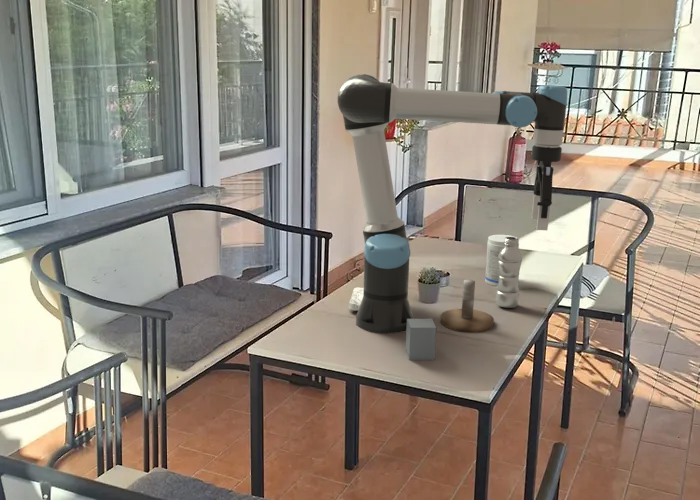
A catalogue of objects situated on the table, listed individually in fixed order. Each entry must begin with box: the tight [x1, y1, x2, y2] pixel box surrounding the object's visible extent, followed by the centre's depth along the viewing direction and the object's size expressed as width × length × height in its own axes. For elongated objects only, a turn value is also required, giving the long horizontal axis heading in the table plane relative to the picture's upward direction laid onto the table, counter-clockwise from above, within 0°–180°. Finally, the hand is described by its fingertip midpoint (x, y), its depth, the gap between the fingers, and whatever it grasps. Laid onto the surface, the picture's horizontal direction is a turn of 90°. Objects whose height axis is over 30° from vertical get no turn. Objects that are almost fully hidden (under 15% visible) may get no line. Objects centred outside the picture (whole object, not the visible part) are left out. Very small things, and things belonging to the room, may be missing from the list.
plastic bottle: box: [495, 236, 523, 309], centre depth 221 cm, size 6×7×20 cm
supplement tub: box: [484, 234, 520, 288], centre depth 243 cm, size 10×10×15 cm
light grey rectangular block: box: [405, 318, 437, 361], centre depth 187 cm, size 6×6×8 cm
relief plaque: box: [348, 287, 364, 311], centre depth 225 cm, size 11×16×3 cm
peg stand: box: [439, 279, 495, 333], centre depth 209 cm, size 14×14×12 cm
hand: (539, 224), depth 213 cm, fingers open, 13 cm apart
